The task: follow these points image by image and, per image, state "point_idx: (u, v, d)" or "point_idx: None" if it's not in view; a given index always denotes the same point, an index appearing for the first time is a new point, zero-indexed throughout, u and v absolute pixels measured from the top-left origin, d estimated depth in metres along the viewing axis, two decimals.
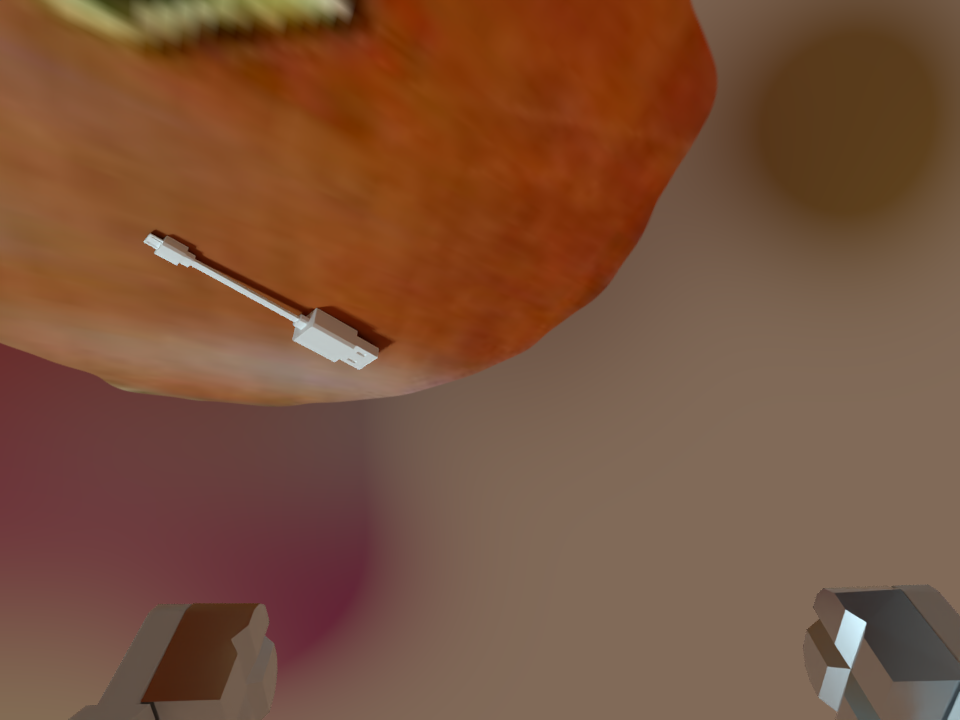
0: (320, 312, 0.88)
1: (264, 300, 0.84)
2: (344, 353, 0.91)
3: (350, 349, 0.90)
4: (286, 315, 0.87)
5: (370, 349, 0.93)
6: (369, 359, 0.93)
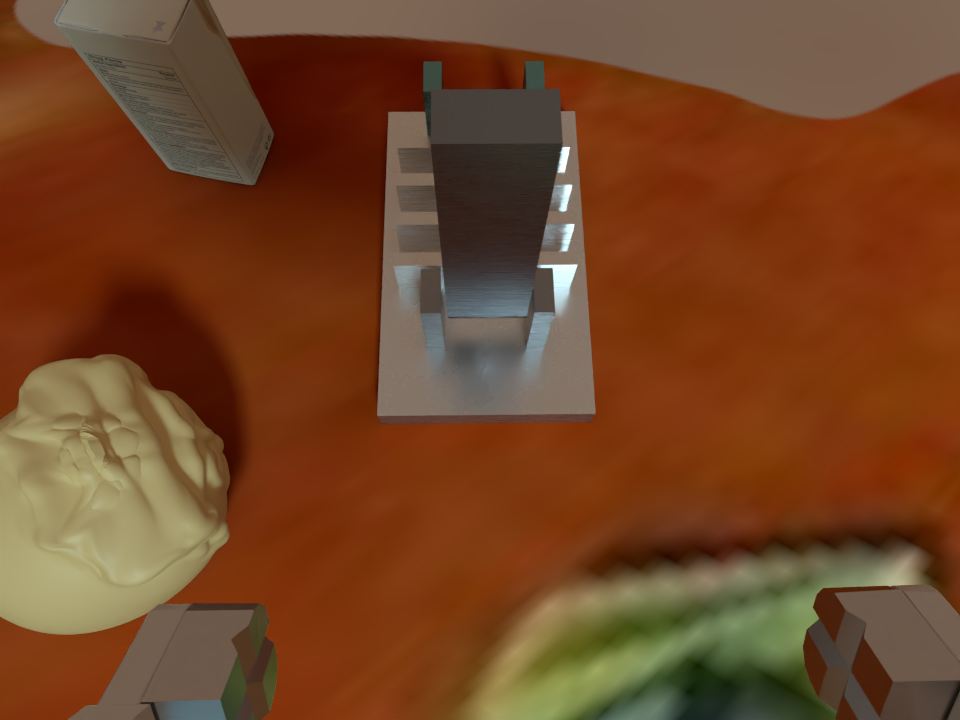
0: None
1: None
2: None
3: None
4: None
5: None
6: None
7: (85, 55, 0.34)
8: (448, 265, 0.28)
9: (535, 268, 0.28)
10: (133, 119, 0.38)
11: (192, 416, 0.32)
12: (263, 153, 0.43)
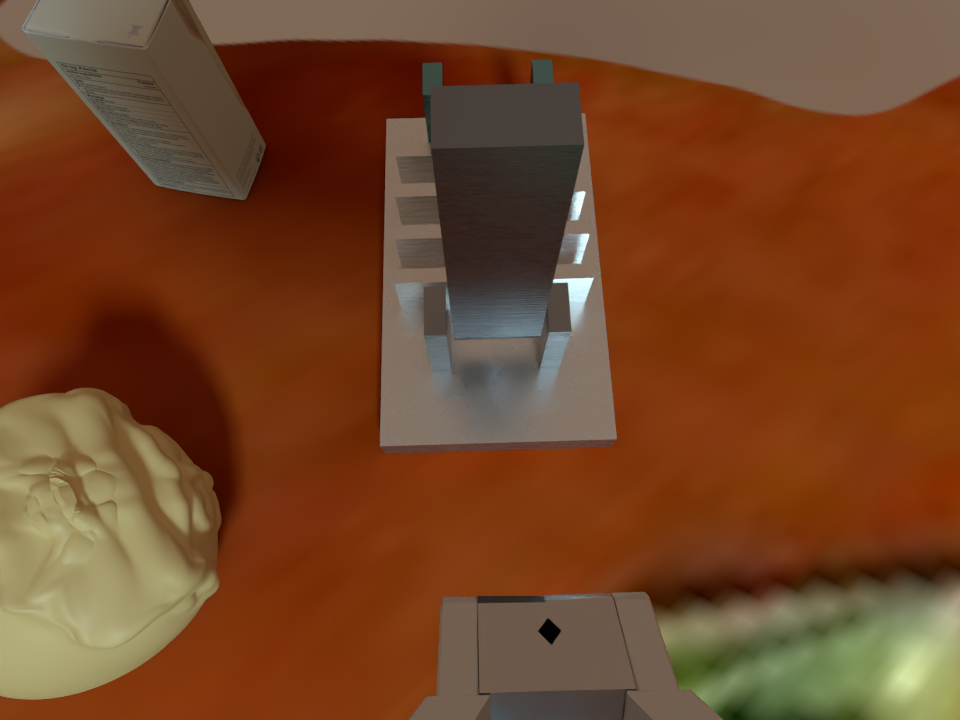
0: None
1: None
2: None
3: None
4: None
5: None
6: None
7: (58, 64, 0.31)
8: (454, 284, 0.25)
9: (550, 285, 0.25)
10: (114, 132, 0.36)
11: (177, 453, 0.30)
12: (254, 166, 0.40)
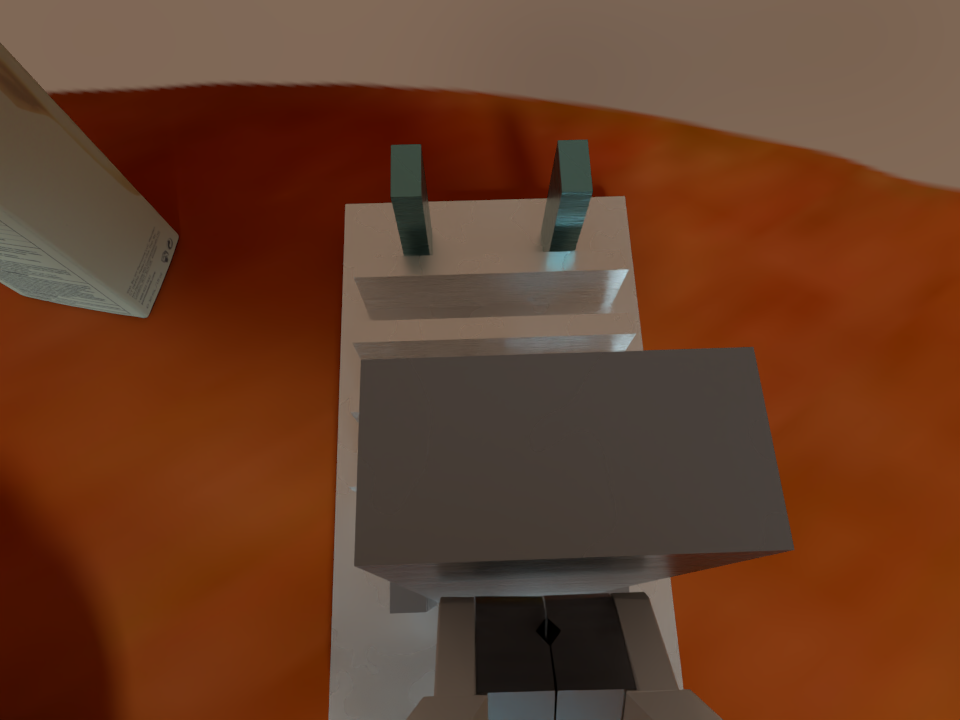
0: None
1: None
2: None
3: None
4: None
5: None
6: None
7: None
8: (436, 595, 0.14)
9: (611, 589, 0.14)
10: None
11: None
12: (160, 269, 0.29)
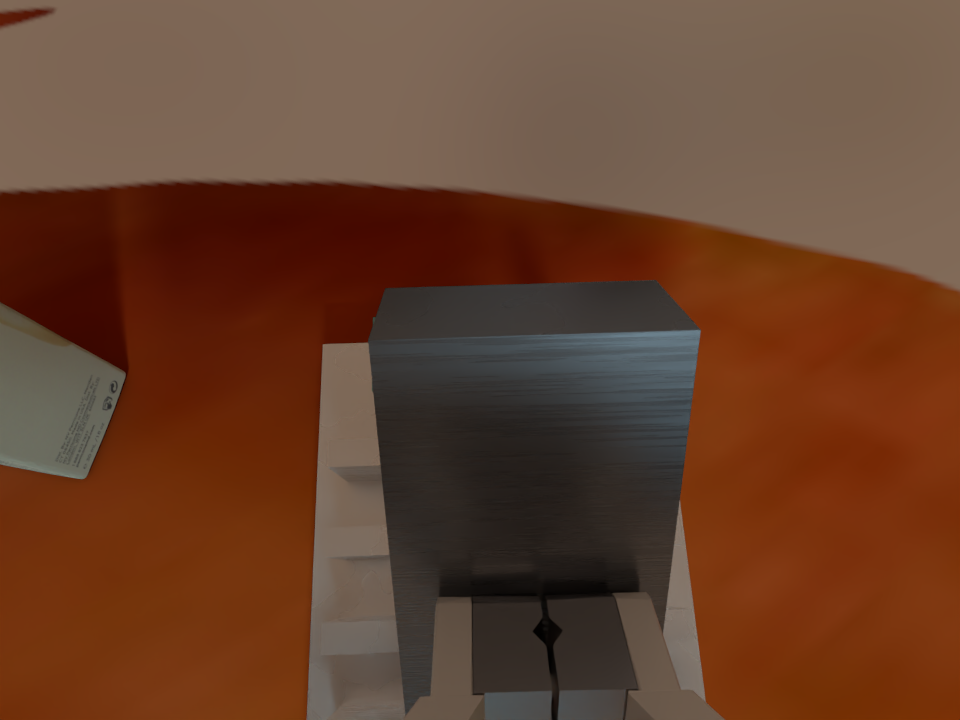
0: None
1: None
2: None
3: None
4: None
5: None
6: None
7: None
8: None
9: None
10: None
11: None
12: (101, 419, 0.24)
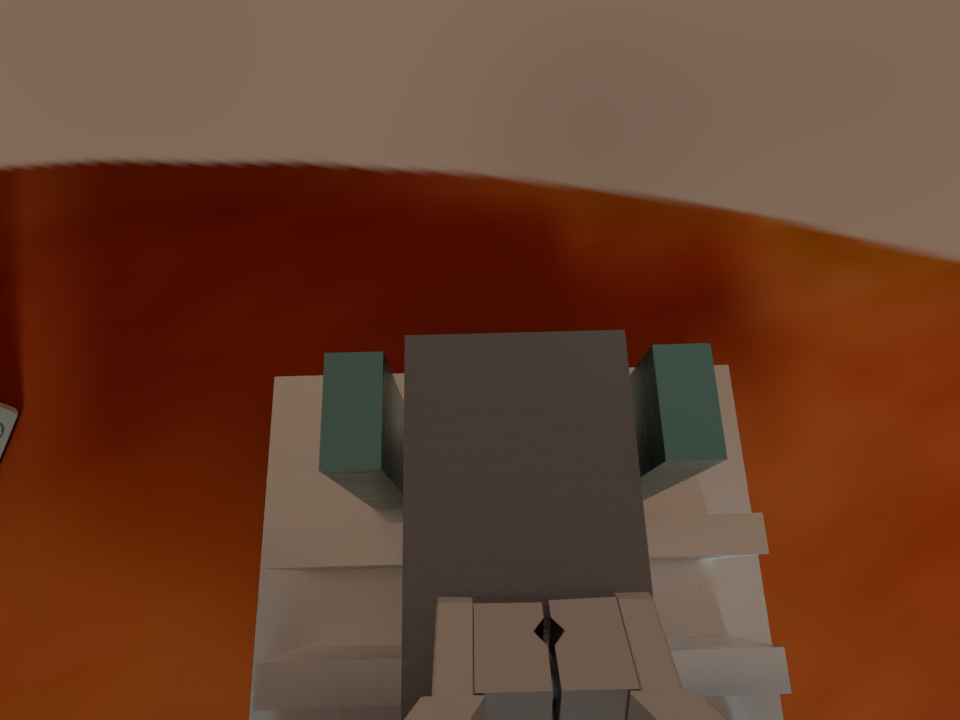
0: None
1: None
2: None
3: None
4: None
5: None
6: None
7: None
8: None
9: None
10: None
11: None
12: None
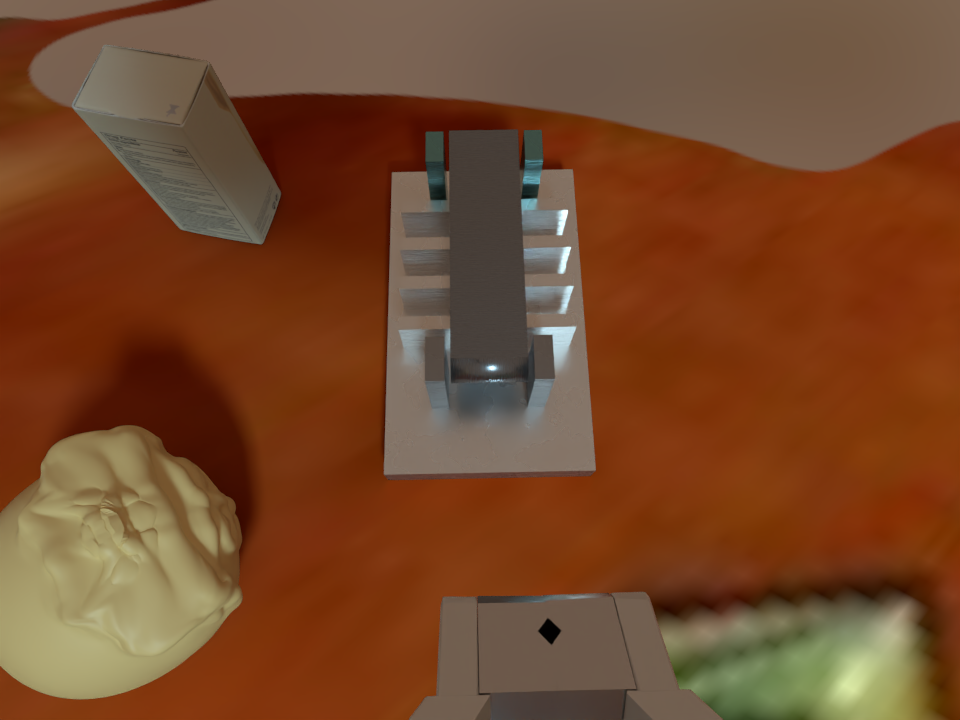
0: None
1: None
2: None
3: None
4: None
5: None
6: None
7: (101, 134, 0.35)
8: (454, 256, 0.36)
9: (522, 261, 0.36)
10: (146, 187, 0.40)
11: (206, 482, 0.34)
12: (271, 213, 0.44)
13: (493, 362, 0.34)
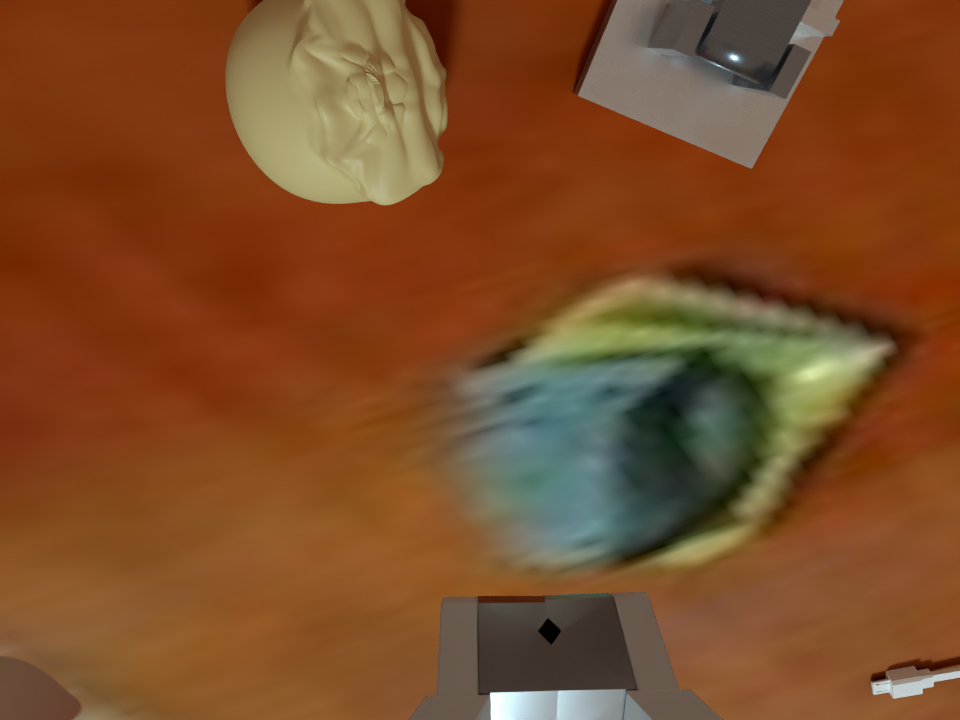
0: None
1: None
2: None
3: None
4: None
5: None
6: None
7: None
8: None
9: None
10: None
11: (435, 54, 0.35)
12: None
13: (743, 57, 0.34)
